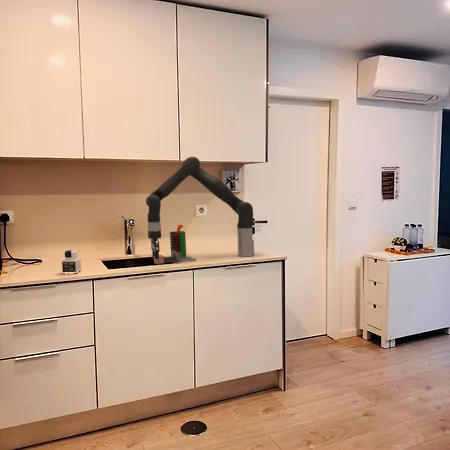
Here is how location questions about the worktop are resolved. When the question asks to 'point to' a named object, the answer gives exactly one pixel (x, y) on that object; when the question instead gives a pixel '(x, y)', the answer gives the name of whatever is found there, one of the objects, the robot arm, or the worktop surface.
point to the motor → (178, 241)
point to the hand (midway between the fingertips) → (155, 257)
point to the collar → (178, 257)
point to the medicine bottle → (71, 262)
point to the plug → (163, 259)
